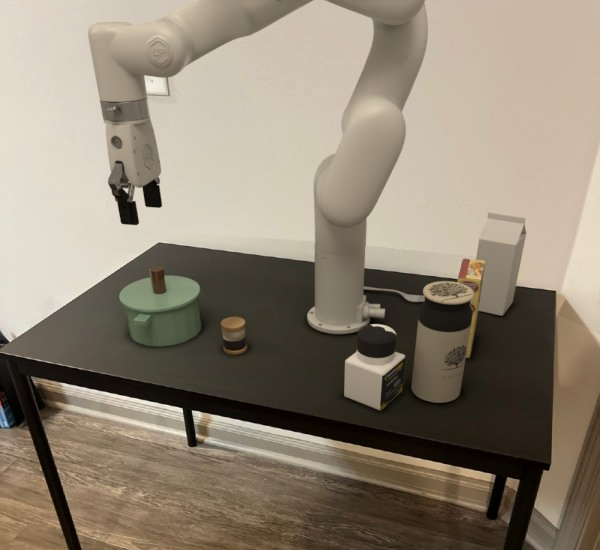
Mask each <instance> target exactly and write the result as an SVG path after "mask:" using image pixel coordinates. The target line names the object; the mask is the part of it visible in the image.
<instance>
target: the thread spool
mask: <svg viewBox="0 0 600 550" xmlns="http://www.w3.org/2000/svg"><path fill="white" fill-rule="evenodd" d="M220 328H221V332H222V341H223V343H222V344H223V346H222V347H223V352H224V353H225V354H227V355H230V356H236V355H237V356H238V355H242V354H244V353H246V352H247V350H248V345H247V336H246V334H247V333H246V320H245V319H244V318H242V317H240V316H230V317H225V318H223V319H222V320H221V321H220Z"/></svg>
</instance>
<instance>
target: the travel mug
mask: <svg viewBox="0 0 600 550" xmlns="http://www.w3.org/2000/svg"><path fill="white" fill-rule="evenodd" d="M422 294H423V296H425V301H424V302H422V304H420V306H419V309H418V319H417V329H416V337H415V348H414V357H413V367H412V376H411V385H410V388H411V392H412V393H413V394H414V395H415V396H416V397H417V398H419V399H420V400H423V401H426V402H429V403H435V404H436V403H437V404H441V403H443V404H444V403H449V402H452V401H454V400H456V399H457V398H459V396H460V394H461V389H462V384H463V377H464V372H465V371H464V370H465V365H466V359H467V358H466V353H467V346H468V340H469V334H470V328H471V322H472V315H473V312H472V309H471V307H470V302H471V300H472V299H473V297H474V292H473V290H472V289H471V288H470V287H468V286H466V285H464V284H461V283H457V281H450V280H442V281H441V280H439V281H434V282H431V283H428V284H426V285H425V286H424V287H423V288H422Z"/></svg>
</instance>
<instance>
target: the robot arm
mask: <svg viewBox="0 0 600 550" xmlns="http://www.w3.org/2000/svg"><path fill="white" fill-rule="evenodd" d="M313 1H314V0H191V1H189V2H188V3H186V4H184V5H182V6H181V7H179V8H178V9H176V10H173V12H170V13H168V14H167V15H165V16H164V17H161V18H158V19H156V20H154V21H149V22H144V23H138V24H133V23H130V22H129V21H128V22H126V21H102V22H95V23H92V24H91V25H90V26H89V28H88V31H87V37H88V43H89V48H90V49H89V50H90V54H91V60H92V65H93V70H94V76H95V82H96V86H97V87H96V88H97V92H98V93H97V94H98V97H99V103H100V104H99V105H100V110H101V116H102V120H103V123H104V124H105V137H106V148H107V157H108V163H109V168H110V174H109V176H108V179H107V184H108V186H109V188H110V190H111V195H112V196H113V197H114V201H115V202H116V205H117V209H118V215H119V220H120V223H121V225H128V226H138V225H139V224H140V219H139V213H138V207H137V201H136V200H134V196H135V190H136V188H137V189H141V188H142V194H143V201H144V206H145V207H146V208H154V209H155V208H157V209H161V208H162V207H163V202H162V195H161V193H162V192H161V187H160V183H161V178H160V175H161V173H162V166H161V160H160V154H159V149H158V143H157V138H156V134H155V129H154V127H153V123H152V120H151V114H150V107H149V100H148V99H149V98H148V93H147V92H148V91H147V85H146V79H145V76H146V77H154V78H163V79H164V78H165V79H166V78H172V77H174V76H177V75H178V74H179V73H180V72H181V71H182V70H183V69H185V68H186V67H187V66H189V65H190V64H192V63H194V62H195V61H197V60H199V59H201V58H203V57H204V56H205V55H207V54H209V53H210V52H211V53H212V52H213V51H216V50H217V49H218V48H220V47H222V46H224V45H226V44H228V43H230V42H232V41H235V40H237V39H240V38H244V37H250V36H252V35H253V34H256V33H259V32H260V31H262V30H264V29H266V28H268V27H269V26H271V25H273V24H274V23H276V22H278V21H280V20H281V19H283V18H285V17H287V16H288V15H290V14H292V13H294V12H295V11H297V10H298V9H301V8H303V7H305V6H307V5H309V4H310V3H311V2H313ZM324 1H326V2H328V3H331V4H332V5H335V6H338V7H341V8H343V9H346V10H348V11H351V12H353V13H355V14H359V15H361V16H365V17H366V18H370V19H371V21H372V25H373V37H372V41H371V46H370V49H369V51H368V54H367V58H366V60H365V62H364V65H363V68H362V70H361V72H360V75H359V77H358V80H357V82H356V84H355V87H354V89H353V91H352V93H351V96H350V98H349V100H348V103H347V104H346V106H345V108H344V109H343V110H344V111H343V113H342V116H341V121H340V123H341V127H340V128H341V132H342V136H341V139H340V141H339V144H338V146H337V148H336V151H335V153H332V154H330V155H327V156H326V157H325V158H323V160H322V161H321V162H320V163H319V165H318V166H317V168H316V171H315V173H314V177H313V210H314V213H313V215H314V306H313V307H311V308H310V309H309V311H308V312H307V314H306V320H307V324H308V325H309V326H310V327H311V328H313V329H314V330H316V331H318V332H321V333H325V334H329V335H330V334H331V335H347V334H353V333H358V331H359V330H360V329H361V328H362V327H364V326H366V325H370V322H371V318H375V319H383V320H384V319H385V317H386V308H381V303H370V302H369V301H367V295H365V294H364V290H363V289H364V286H365V285H364V284H365V266H366V265H365V264H366V247H367V229H368V227H367V226H368V225H367V223H368V221H367V218H368V217H369V216H370V215H371V214H372V212H373V210H374V209H375V207H376V205H377V203H378V201H379V199H380V197H381V195H382V193H383V191H384V189H385V187H386V185H387V183H388V181H389V179H390V177H391V175H392V172H393V171H394V168H395V166H396V164H397V163H398V160H399V158H400V156H401V154H402V151H403V148H404V144H405V141H406V135H407V124H406V120H405V116H404V114H403V110H404V108H405V106H406V104H407V101H408V100H409V99H408V98H409V97H410V94H411V92H412V89H413V87H414V84H415V82H416V79H417V77H418V75H419V72H420V71H421V67H422V65H423V62H424V59H425V56H426V50H427V46H428V38H429V37H428V35H429V34H428V33H429V24H428V14H427V8H426V3H425V2H426V0H324ZM125 189H127V192H126V190H125Z"/></svg>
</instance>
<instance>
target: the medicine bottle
mask: <svg viewBox="0 0 600 550" xmlns="http://www.w3.org/2000/svg"><path fill="white" fill-rule="evenodd" d="M356 333H357V335H356V351H355V352H354V353H353V354H352V355H350V356H348V358H346V359H345V361H344V380H343V381H344V382H343V383H344V384H343V395H344V398H347V399H349V400H351V401H355V402H357V403H359V404H361V405H365V406H367V407H369V408H372V409H375V410H376V411H382V410H383V409H384V408H385V407H387V405H389V404H390V403H391V402H392V401H393V400H394V399H395V398H396V397H397V396H399V395H400V394H401V393H402V392H403V385H404V376H405V375H404V374H405V366H406V365H405V364H406V355H405V354H403V353H400V352H397V351H396V349H397V348H396V347H397V346H396V345H397V337H398V336H397V332H396V331H395V330H394V329H393V328H392V327H390V326H388V325H385V324H380V323H373V324H368V325H366V326H364V327H362V328H361V329H360V330H359V331H357V332H356Z"/></svg>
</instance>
